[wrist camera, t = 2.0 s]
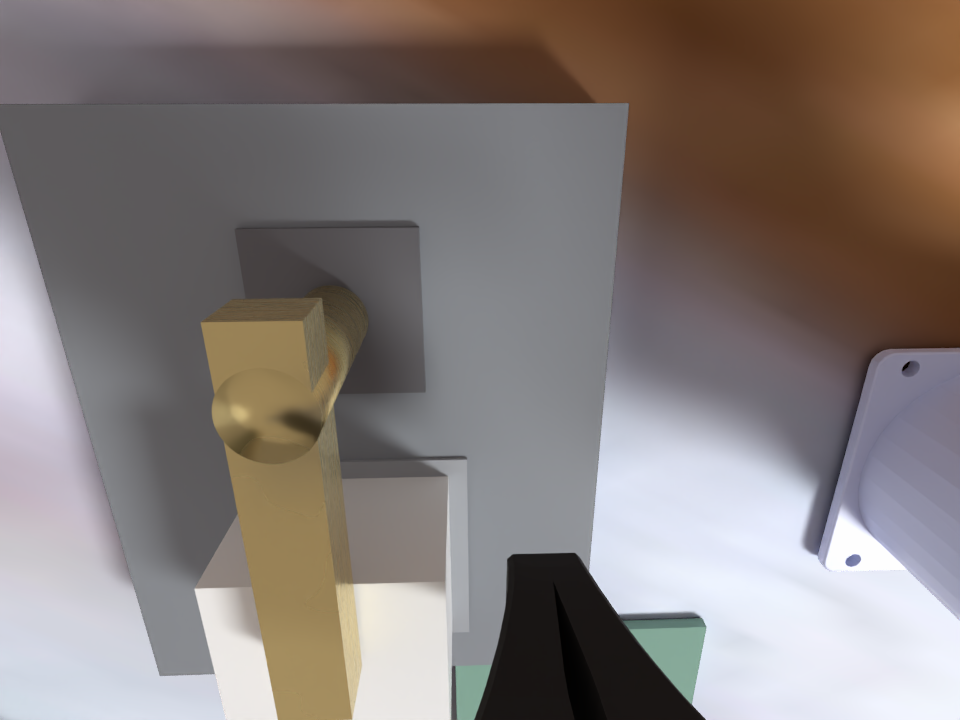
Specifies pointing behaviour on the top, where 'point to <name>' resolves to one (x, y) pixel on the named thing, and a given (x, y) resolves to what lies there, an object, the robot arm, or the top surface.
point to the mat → (662, 639)
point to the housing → (358, 268)
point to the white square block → (379, 606)
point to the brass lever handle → (292, 485)
